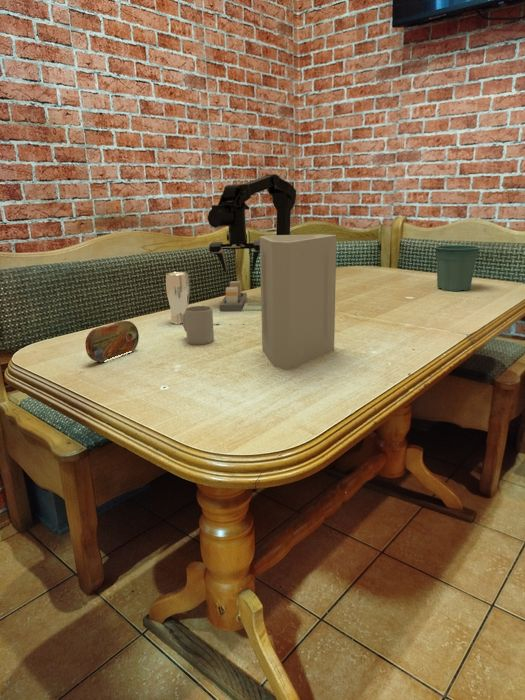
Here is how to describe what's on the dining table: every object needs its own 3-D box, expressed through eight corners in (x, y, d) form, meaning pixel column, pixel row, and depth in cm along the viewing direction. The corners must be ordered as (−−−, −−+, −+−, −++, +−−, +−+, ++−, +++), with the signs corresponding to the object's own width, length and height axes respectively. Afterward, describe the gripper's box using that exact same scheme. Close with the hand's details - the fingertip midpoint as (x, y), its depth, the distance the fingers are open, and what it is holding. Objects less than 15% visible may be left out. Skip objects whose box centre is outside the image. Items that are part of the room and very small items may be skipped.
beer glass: (193, 319, 159) (190, 271, 155) (188, 324, 153) (185, 275, 148) (172, 319, 160) (168, 271, 155) (166, 324, 153) (162, 275, 149)
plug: (237, 309, 168) (236, 288, 165) (226, 309, 168) (225, 289, 166) (238, 307, 171) (237, 286, 169) (227, 307, 171) (226, 287, 169)
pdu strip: (246, 300, 184) (246, 280, 181) (241, 313, 165) (240, 290, 162) (227, 301, 184) (226, 280, 182) (220, 313, 165) (218, 291, 163)
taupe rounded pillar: (288, 339, 135) (287, 232, 127) (335, 349, 126) (338, 235, 118) (240, 358, 121) (235, 239, 113) (289, 370, 112) (288, 242, 104)
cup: (199, 346, 131) (197, 313, 128) (174, 340, 137) (172, 308, 135) (219, 340, 136) (217, 308, 134) (194, 334, 142) (192, 303, 140)
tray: (271, 307, 173) (271, 302, 173) (270, 313, 164) (270, 308, 164) (245, 307, 174) (245, 302, 173) (243, 313, 165) (242, 308, 165)
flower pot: (422, 287, 200) (425, 246, 195) (453, 283, 207) (457, 243, 202) (453, 294, 186) (457, 250, 181) (485, 289, 193) (490, 247, 188)
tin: (94, 367, 118) (90, 332, 115) (85, 364, 119) (80, 330, 117) (141, 349, 130) (138, 318, 127) (132, 348, 131) (129, 316, 129)
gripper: (266, 221, 173) (268, 267, 178) (212, 223, 174) (215, 268, 179) (264, 224, 162) (266, 272, 167) (207, 226, 163) (210, 274, 168)
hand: (239, 272), depth 171 cm, fingers open, 9 cm apart
